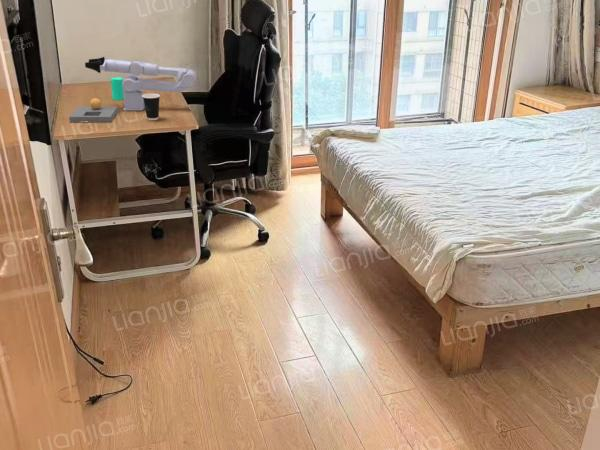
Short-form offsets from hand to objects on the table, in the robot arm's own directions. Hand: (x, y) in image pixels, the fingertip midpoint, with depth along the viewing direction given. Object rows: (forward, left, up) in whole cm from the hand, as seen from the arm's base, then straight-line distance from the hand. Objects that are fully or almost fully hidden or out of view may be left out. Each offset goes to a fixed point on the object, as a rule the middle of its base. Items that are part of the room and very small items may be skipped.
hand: (87, 63), depth 286 cm
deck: (-4, +15, -22) cm, 27 cm away
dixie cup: (-31, +18, -22) cm, 42 cm away
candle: (-9, -20, -22) cm, 31 cm away
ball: (-4, +10, -17) cm, 20 cm away
